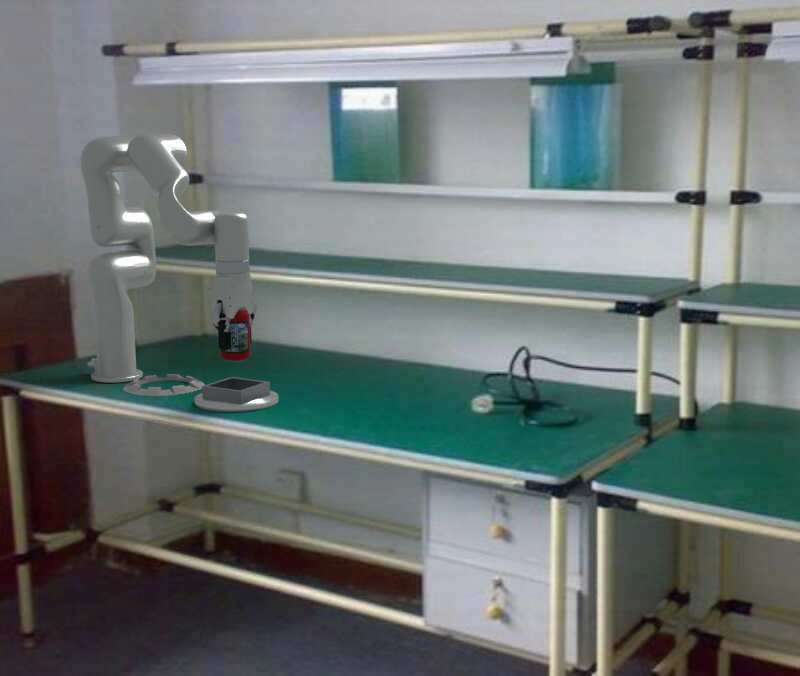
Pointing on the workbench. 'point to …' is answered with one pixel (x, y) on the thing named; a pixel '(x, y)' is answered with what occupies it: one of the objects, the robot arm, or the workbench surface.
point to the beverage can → (238, 337)
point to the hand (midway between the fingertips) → (235, 345)
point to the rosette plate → (236, 395)
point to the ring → (156, 391)
